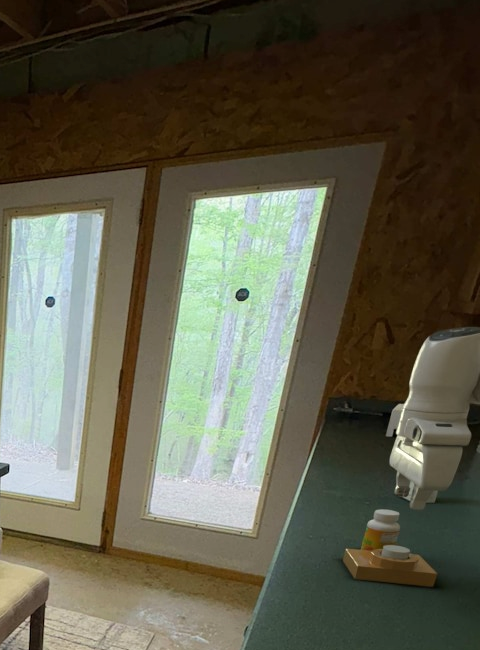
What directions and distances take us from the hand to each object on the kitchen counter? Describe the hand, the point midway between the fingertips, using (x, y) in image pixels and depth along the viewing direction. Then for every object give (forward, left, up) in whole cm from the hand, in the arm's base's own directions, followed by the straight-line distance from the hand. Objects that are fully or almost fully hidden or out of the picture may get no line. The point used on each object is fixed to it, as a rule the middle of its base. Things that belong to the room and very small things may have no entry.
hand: (408, 502), depth 114 cm
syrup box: (-21, -63, -16) cm, 68 cm away
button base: (0, -2, -15) cm, 16 cm away
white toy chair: (-49, -165, -16) cm, 173 cm away
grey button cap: (0, 0, -11) cm, 11 cm away
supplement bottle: (-1, -13, -16) cm, 20 cm away
